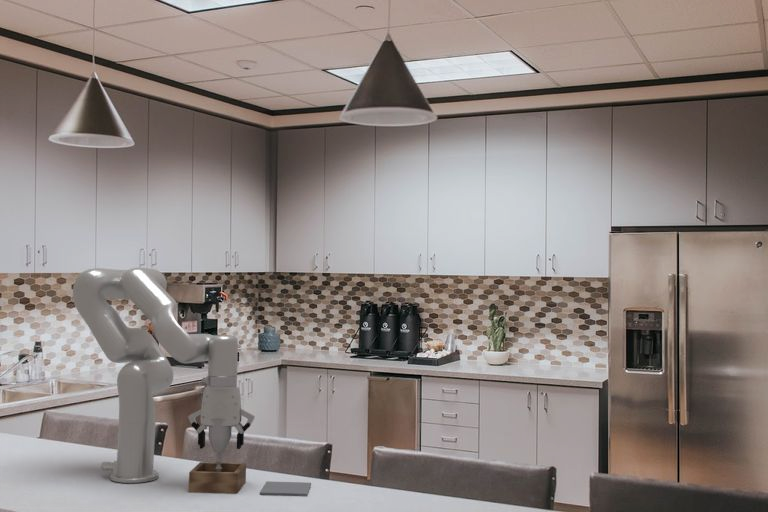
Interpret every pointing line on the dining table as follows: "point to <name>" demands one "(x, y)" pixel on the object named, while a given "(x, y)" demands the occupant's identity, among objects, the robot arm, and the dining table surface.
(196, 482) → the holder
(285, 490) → the coaster
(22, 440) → the dining table surface
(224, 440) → the chalice
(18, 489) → the dining table surface
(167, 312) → the robot arm
